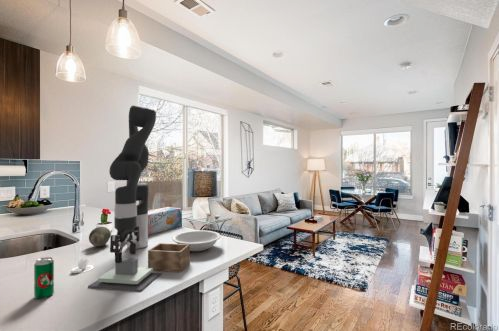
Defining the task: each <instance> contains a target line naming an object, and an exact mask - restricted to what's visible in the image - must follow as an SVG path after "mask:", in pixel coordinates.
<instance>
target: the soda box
mask: <svg viewBox="0 0 499 331" xmlns="http://www.w3.org/2000/svg"><path fill="white" fill-rule="evenodd" d="M182 226H183V208H182V207H174V206H173V207H172V206H166V207H161V208H155V209H148V236H150V235H154V234H157V233H160V232H164V231H168V230H171V229H173V228H179V227H182Z"/></svg>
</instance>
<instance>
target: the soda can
mask: <svg viewBox="0 0 499 331" xmlns="http://www.w3.org/2000/svg"><path fill="white" fill-rule="evenodd" d="M33 272H34V273H33V282H34V284H33V285H34V286H33V287H34V289H33V294H34V295H33V297H34V298H35V299H37V300H42V299H43V300H44V299H47V298H49V297H50V296H53V294H54V293H55V292H54V291H55V260H54V259H53V257H52V256H51V257H50V256H47V257H40V258H38V259H36V260H35V263H34V265H33Z"/></svg>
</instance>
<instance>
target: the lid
mask: <svg viewBox="0 0 499 331" xmlns="http://www.w3.org/2000/svg"><path fill="white" fill-rule="evenodd" d="M114 263H115V262H114ZM138 263H139V262H138V258H137V257H136V258H133V257H122V262H121V263H115V265H114V266H115V267H113V268H112V269H110V270H109V271H107V272H106V273H104V274H102V275H101V276H99V277H97V280H98V282H106V283H120V284H138V283H139V282H140V281H142V280H143V279H144V278H145V277H147V276H148V275H149V274H150V273H151V272H154V270H153V268H148V267H140V266H139V265H138ZM138 266H139V267H138Z"/></svg>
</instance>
